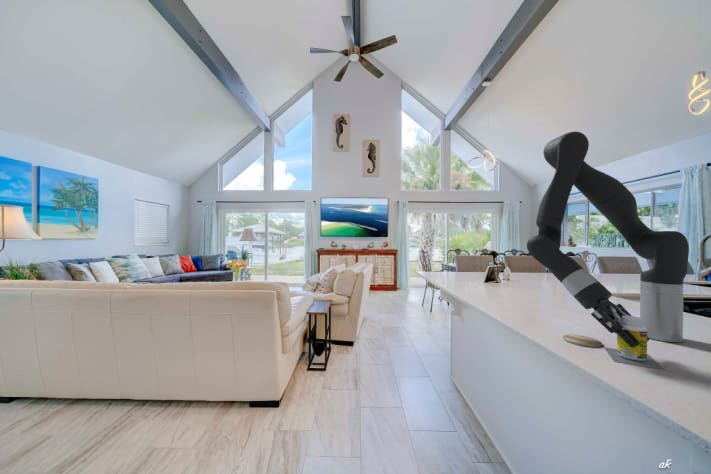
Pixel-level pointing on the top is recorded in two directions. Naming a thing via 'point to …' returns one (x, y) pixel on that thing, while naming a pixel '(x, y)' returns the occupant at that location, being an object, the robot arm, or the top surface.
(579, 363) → the top surface
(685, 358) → the top surface
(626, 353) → the supplement bottle
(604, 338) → the top surface
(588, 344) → the cork coaster
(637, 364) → the gray board
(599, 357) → the top surface
